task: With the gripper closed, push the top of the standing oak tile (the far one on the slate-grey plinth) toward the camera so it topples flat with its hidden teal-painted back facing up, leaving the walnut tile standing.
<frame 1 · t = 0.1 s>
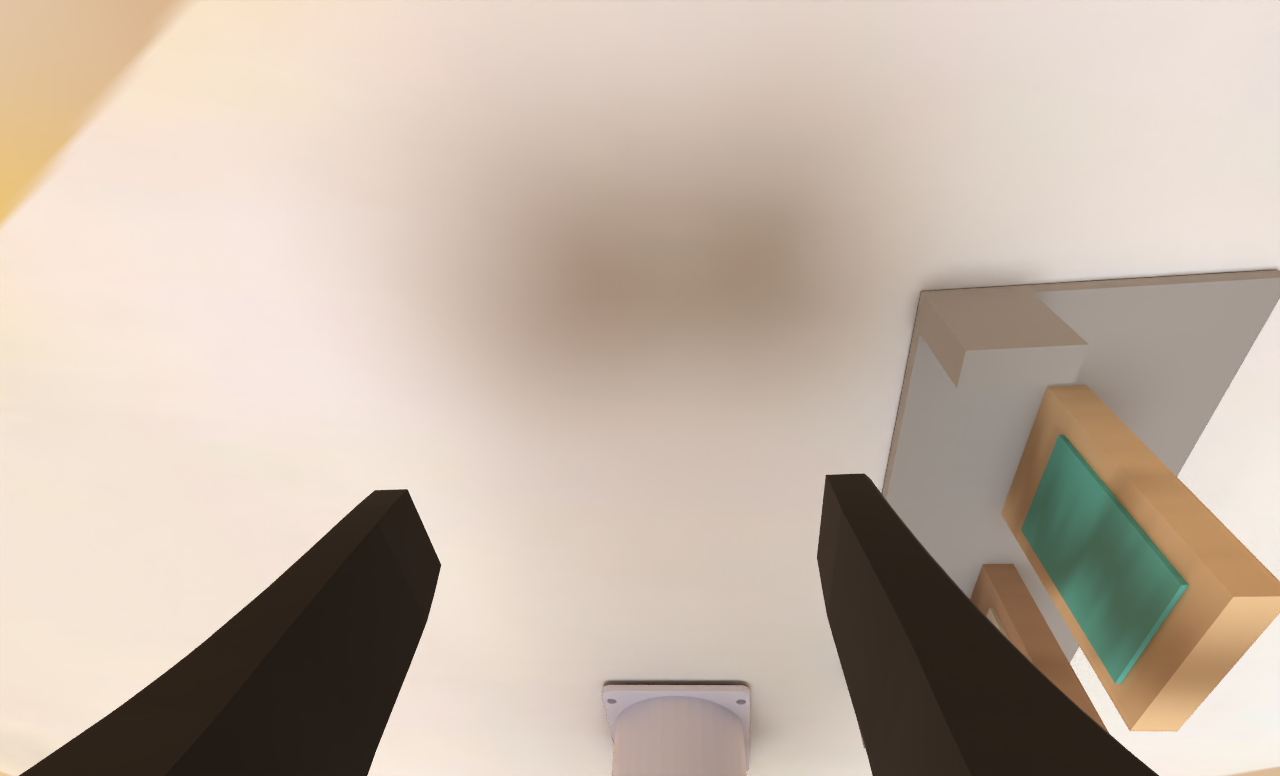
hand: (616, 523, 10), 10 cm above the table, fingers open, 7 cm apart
oak tile: (1039, 454, 21), resting on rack
walnut tile: (981, 607, 26), resting on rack
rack: (1001, 529, 24), on the table
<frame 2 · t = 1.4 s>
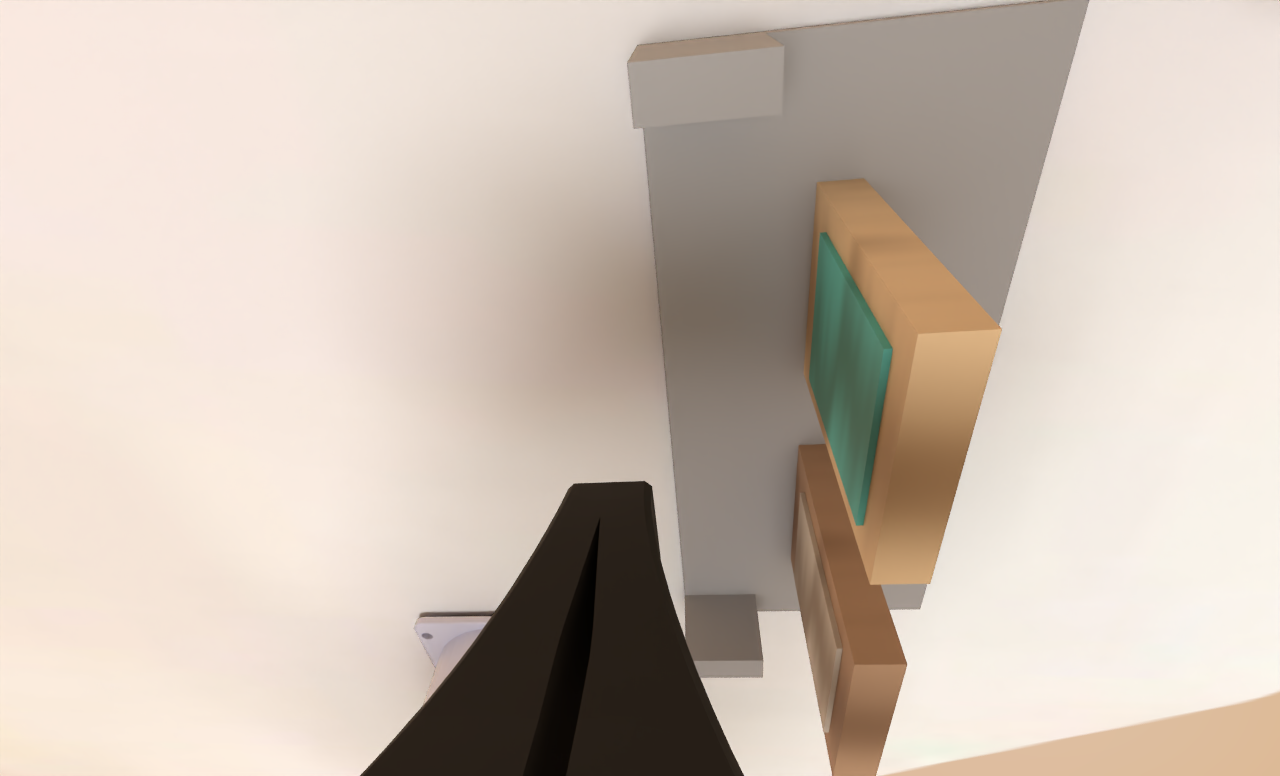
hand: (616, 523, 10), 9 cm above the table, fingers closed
oak tile: (830, 285, 17), resting on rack
walnut tile: (810, 505, 22), resting on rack
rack: (816, 401, 20), on the table
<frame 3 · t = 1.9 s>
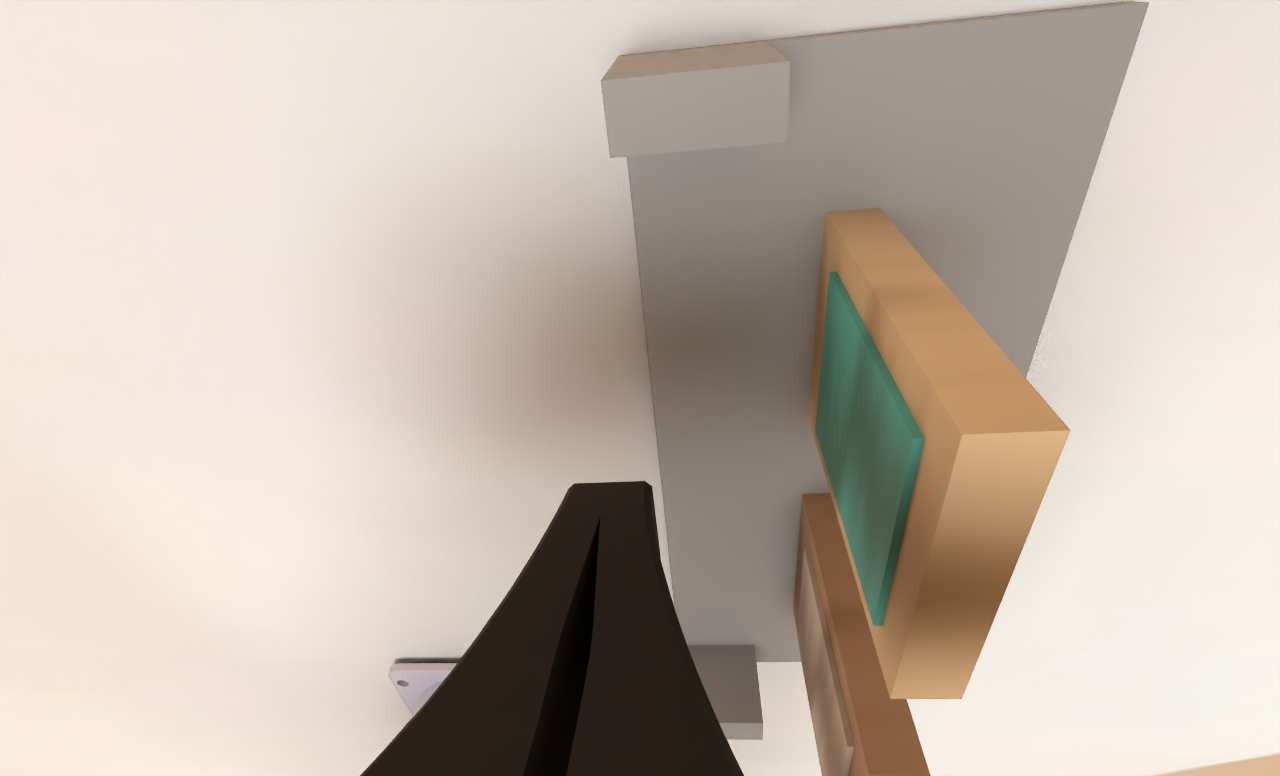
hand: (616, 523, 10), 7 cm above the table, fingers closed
oak tile: (839, 325, 15), resting on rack
walnut tile: (815, 556, 20), resting on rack
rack: (822, 446, 18), on the table
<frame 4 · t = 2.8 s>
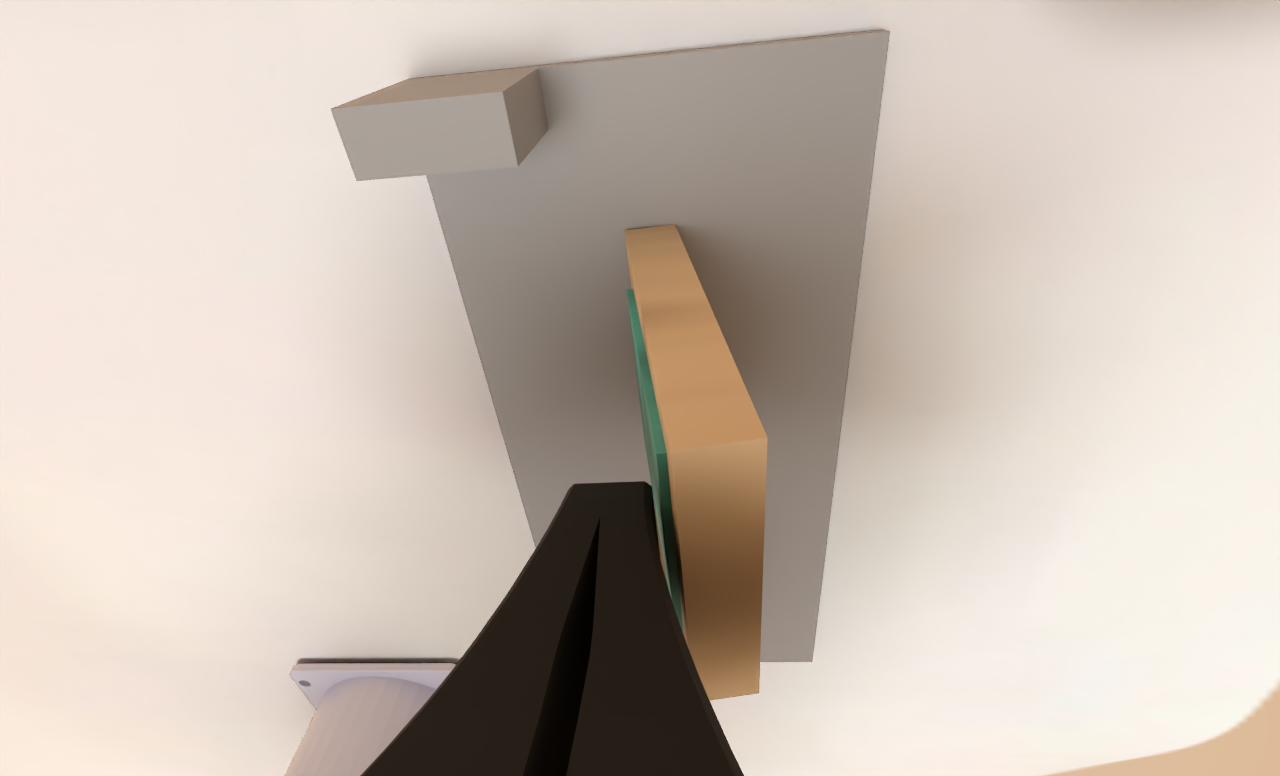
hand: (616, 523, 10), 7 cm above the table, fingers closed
oak tile: (659, 338, 16), point 1 cm above the table, tilted 9°, touching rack
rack: (670, 452, 19), on the table
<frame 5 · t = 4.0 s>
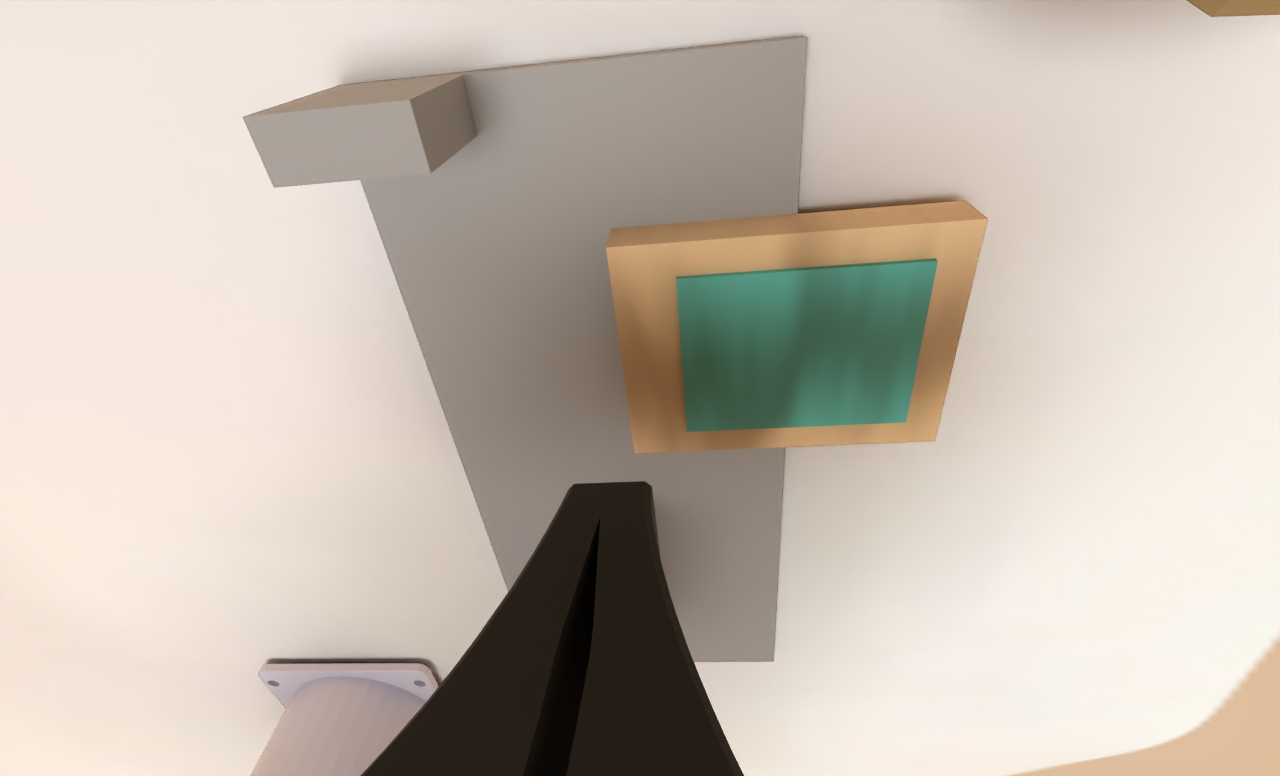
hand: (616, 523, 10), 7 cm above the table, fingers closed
oak tile: (623, 349, 15), point 1 cm above the table, tilted 90°, touching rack
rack: (621, 453, 19), on the table
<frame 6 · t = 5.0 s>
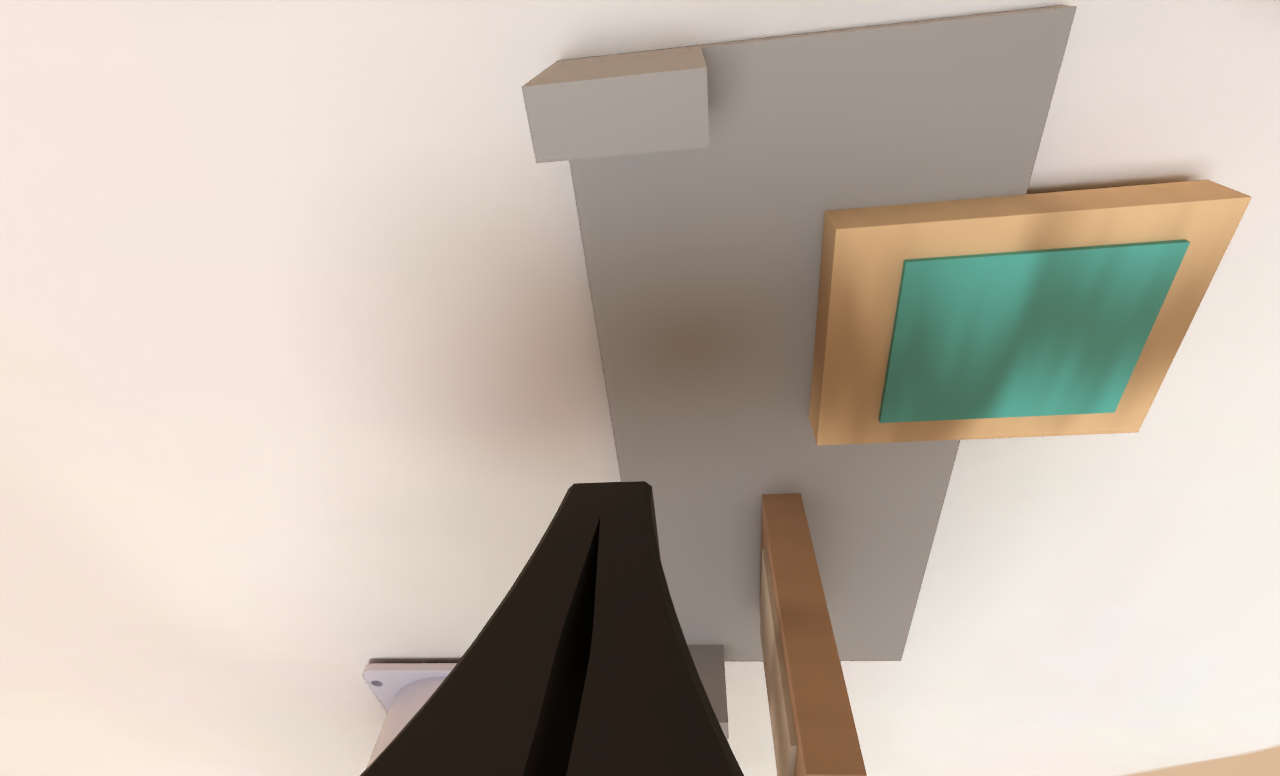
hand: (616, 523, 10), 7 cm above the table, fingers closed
oak tile: (820, 337, 15), point 1 cm above the table, tilted 90°, touching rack
walnut tile: (778, 556, 20), resting on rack
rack: (780, 447, 18), on the table
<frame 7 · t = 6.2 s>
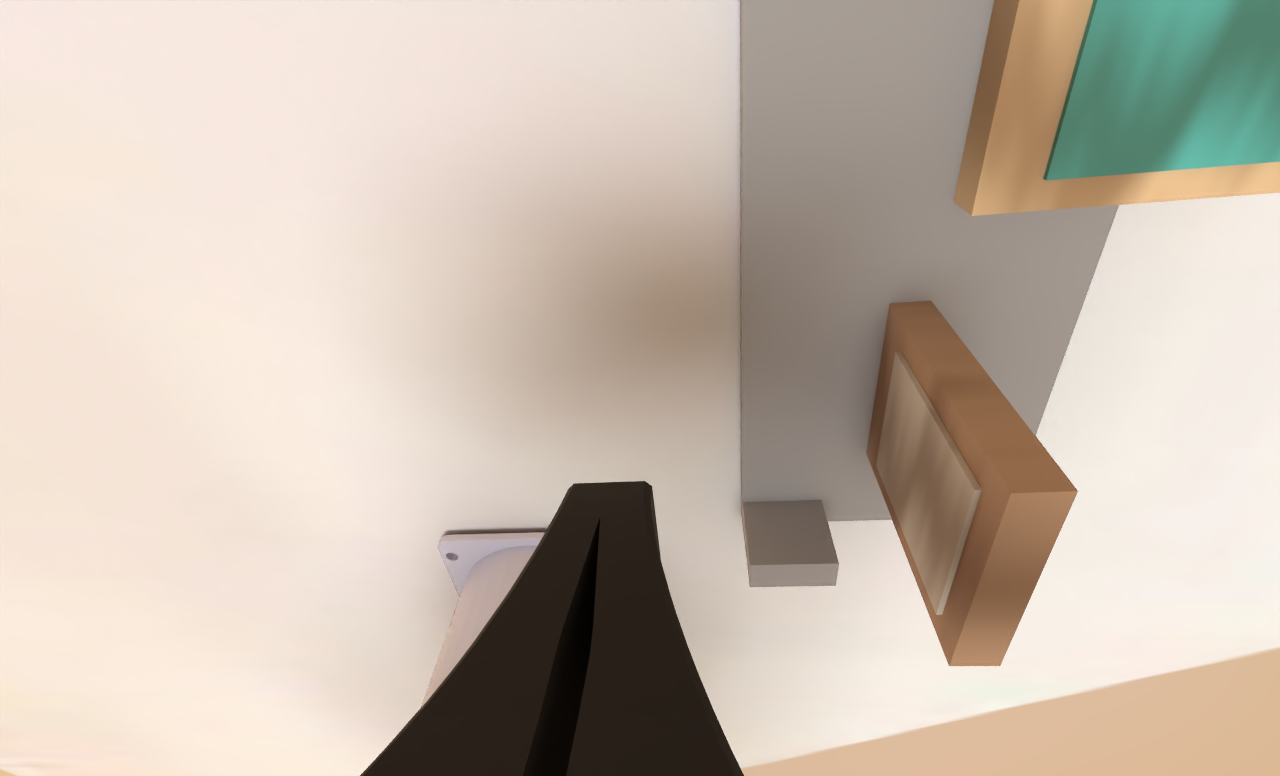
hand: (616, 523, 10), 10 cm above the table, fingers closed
oak tile: (989, 81, 14), point 1 cm above the table, tilted 90°, touching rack
walnut tile: (895, 383, 20), resting on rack
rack: (913, 248, 17), on the table
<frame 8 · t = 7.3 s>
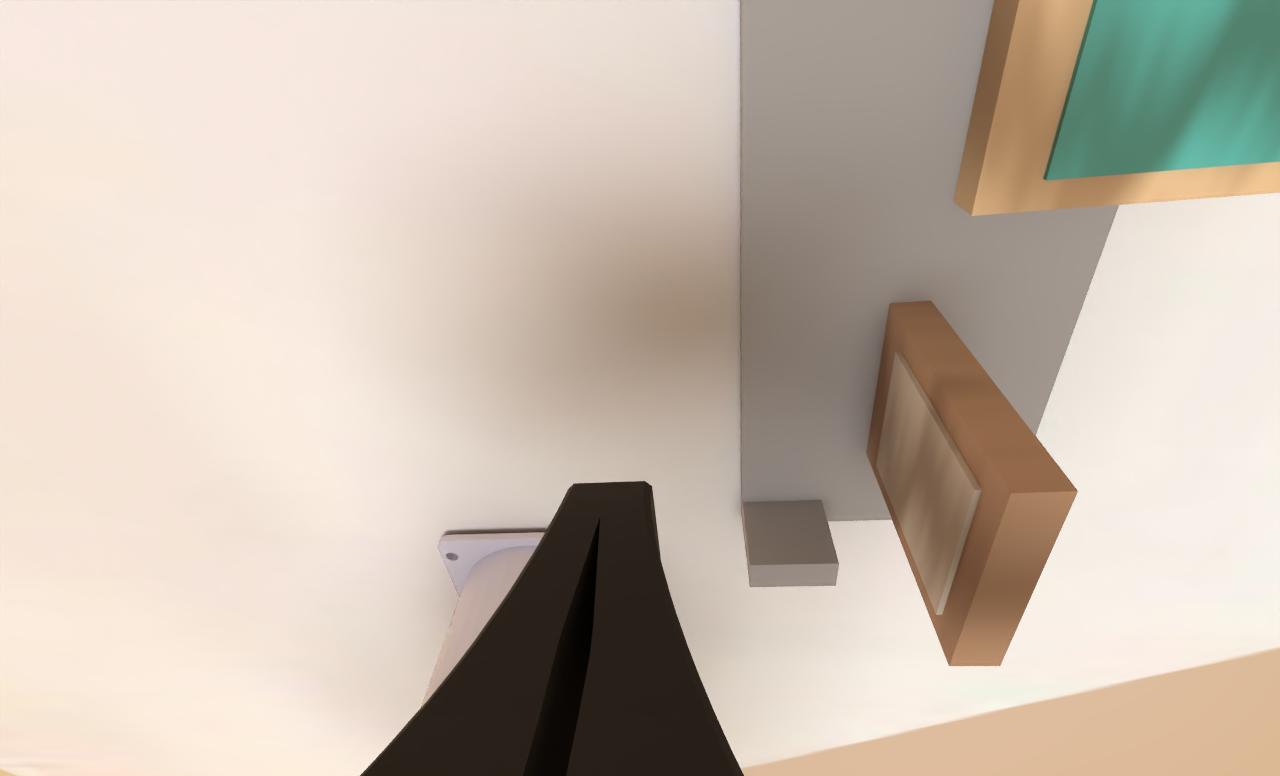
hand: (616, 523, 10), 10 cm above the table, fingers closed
oak tile: (989, 81, 14), point 1 cm above the table, tilted 90°, touching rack
walnut tile: (895, 383, 20), resting on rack
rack: (913, 248, 17), on the table
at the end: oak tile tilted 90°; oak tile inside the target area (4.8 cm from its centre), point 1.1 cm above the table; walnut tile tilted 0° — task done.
